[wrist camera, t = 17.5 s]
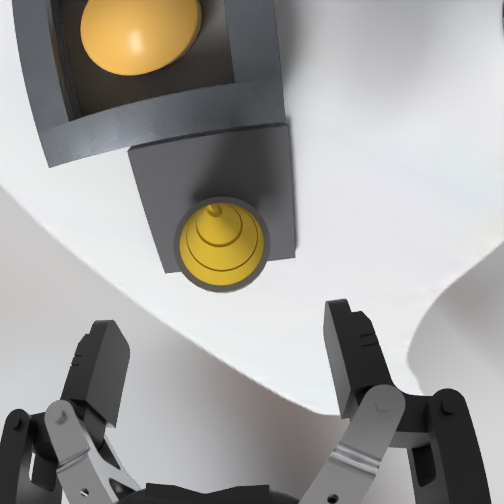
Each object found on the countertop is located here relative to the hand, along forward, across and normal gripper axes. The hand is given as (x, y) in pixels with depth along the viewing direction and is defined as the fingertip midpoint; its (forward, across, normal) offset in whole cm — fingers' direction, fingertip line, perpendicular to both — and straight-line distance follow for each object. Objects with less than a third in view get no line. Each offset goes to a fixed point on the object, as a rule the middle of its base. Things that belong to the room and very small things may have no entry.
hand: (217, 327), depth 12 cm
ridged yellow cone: (+10, +1, 0) cm, 10 cm away
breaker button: (+10, +2, -11) cm, 15 cm away
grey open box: (+10, +2, -11) cm, 15 cm away
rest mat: (+10, 0, 0) cm, 10 cm away
